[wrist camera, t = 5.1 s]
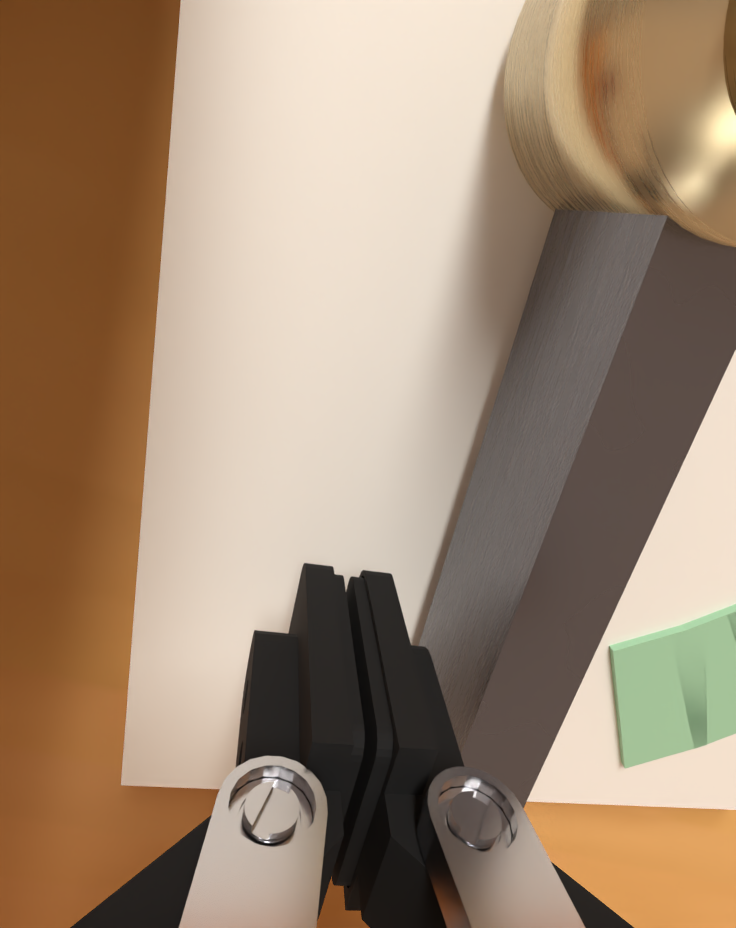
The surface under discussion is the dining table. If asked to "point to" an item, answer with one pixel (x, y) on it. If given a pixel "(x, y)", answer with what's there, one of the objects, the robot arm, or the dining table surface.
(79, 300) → the dining table surface
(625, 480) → the lever
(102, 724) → the dining table surface
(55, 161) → the dining table surface
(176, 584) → the dial plate
